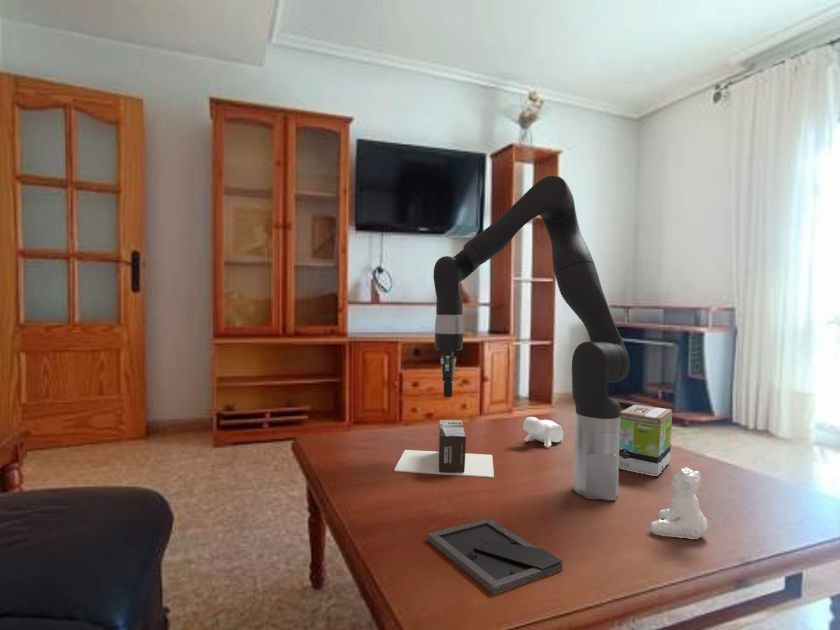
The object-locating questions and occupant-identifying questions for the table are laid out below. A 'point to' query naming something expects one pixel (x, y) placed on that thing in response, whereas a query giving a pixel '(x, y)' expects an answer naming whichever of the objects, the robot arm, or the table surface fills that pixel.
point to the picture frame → (494, 554)
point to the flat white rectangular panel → (430, 464)
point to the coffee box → (451, 446)
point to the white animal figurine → (542, 430)
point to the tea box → (645, 439)
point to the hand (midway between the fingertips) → (447, 396)
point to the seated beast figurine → (683, 509)
